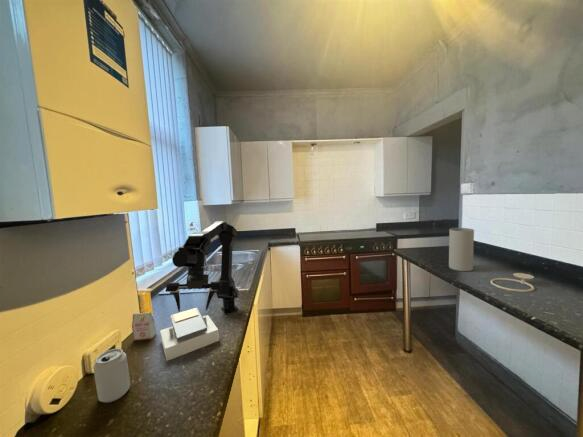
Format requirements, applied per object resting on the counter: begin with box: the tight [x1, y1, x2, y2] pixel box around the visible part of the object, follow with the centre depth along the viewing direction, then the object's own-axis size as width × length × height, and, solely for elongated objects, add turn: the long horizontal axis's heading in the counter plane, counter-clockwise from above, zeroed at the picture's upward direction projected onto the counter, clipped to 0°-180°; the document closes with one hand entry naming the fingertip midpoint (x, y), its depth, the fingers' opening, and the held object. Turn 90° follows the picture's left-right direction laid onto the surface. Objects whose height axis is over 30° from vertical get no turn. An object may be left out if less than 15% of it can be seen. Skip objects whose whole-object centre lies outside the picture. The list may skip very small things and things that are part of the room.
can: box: [92, 348, 131, 403], centre depth 69 cm, size 8×8×12 cm
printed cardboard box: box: [131, 312, 157, 341], centre depth 98 cm, size 4×7×10 cm, turn 94°
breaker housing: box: [159, 314, 220, 362], centre depth 93 cm, size 14×18×8 cm
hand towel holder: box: [490, 272, 535, 293], centre depth 127 cm, size 17×4×21 cm
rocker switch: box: [170, 307, 207, 342], centre depth 93 cm, size 14×10×2 cm
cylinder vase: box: [448, 227, 475, 272], centre depth 153 cm, size 12×12×25 cm
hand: (193, 310), depth 89 cm, fingers open, 9 cm apart
